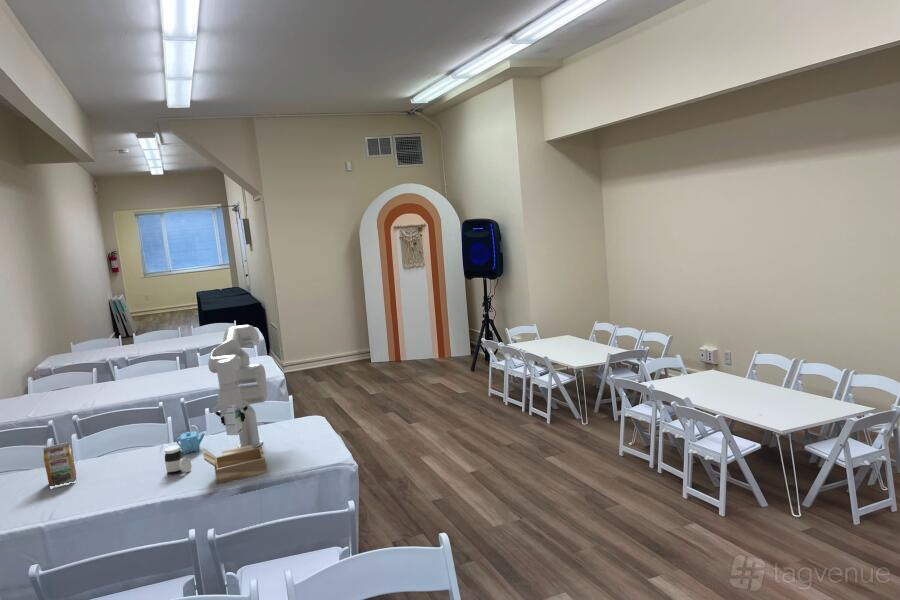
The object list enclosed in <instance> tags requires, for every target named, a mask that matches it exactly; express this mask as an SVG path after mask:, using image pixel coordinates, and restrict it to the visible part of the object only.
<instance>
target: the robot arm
mask: <svg viewBox="0 0 900 600" xmlns="http://www.w3.org/2000/svg"><path fill="white" fill-rule="evenodd" d="M222 339H223V341H222V343H220V344H219V345H218V346H216V347H215V348H213V350H211V352H210V353H209V358H208V369H209V371H210V372H211V373H212V374H216V375H217V379H218V380H217V381H218V386H219V389H218V391H217V399H218V403H217V404H216V405H215V406H214V407H213V408H212V409H211V410H212V413H214V414H215V415H216V416H218V417H219V418H220V422H221V424H223V426H225V421H224V412H226V411H227V406H228V405H230V404H235V406H236V409H239V410H240V411H241V415H242V422H243V428H244V431H242V432H241V433H239V434H238V438H239V443H238V444H237V448H240V447H245V446H249V445H252V447H253V449H255V448H259V447H262V445H263V443H264V440H263V439H261V438H260V435H259V430H258V429H259V428H258V422H257V414H256V410H255V409H254V407H253V406H252V405H253V404H260V403H265V402H266V401H267V399H268V388H267V386H268V385H267V374H266V369H265V367H264V365H263V364H262V363H252V364H251V363H250V355H249V353H248V352H246V351H245V350H244V349H243V348H247V347H255V346H257V345H258V344H259V343H260V334H259V332H258V330H257V328H255V327H254V326H253V325H250V324H242V325H233V326H230V327H228V328H226V329H225V330H224V334H223V338H222ZM253 383H254V384H253ZM255 383H256V384H255ZM248 384H251V385H248ZM239 385H243V386H239ZM218 409H219V411H220V412H219V411H218Z"/></svg>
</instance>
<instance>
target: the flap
mask: <svg viewBox="0 0 900 600" xmlns="http://www.w3.org/2000/svg"><path fill="white" fill-rule="evenodd" d="M216 457H217V456H215V455H214V454H213V453H211V452H210V451H208V450H206V449H205V448H203V460H204V461H206V462H207V463H208V464H210V465H212V466H213V467H214V468H215V467H217V465H216Z"/></svg>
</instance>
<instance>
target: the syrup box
mask: <svg viewBox="0 0 900 600" xmlns="http://www.w3.org/2000/svg"><path fill="white" fill-rule="evenodd" d="M223 416H224V421H225V425H224V427H225V433H226V436H239V433H241V432H242V431H244V428H243V422H242V415H241V411H240V410H239V409H236V406H235V404H230V405H228V406H227V411H226V412H224V415H223Z"/></svg>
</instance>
